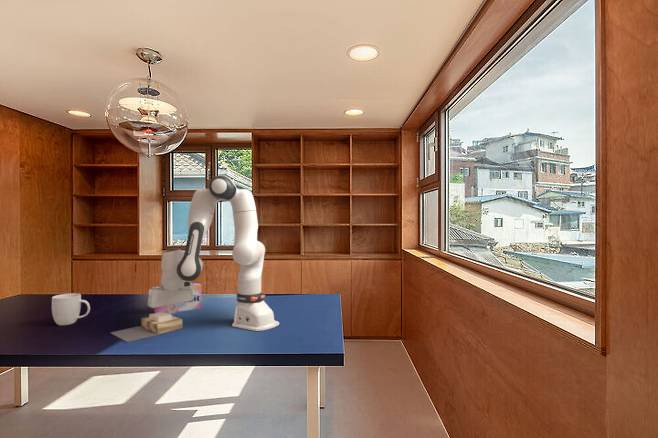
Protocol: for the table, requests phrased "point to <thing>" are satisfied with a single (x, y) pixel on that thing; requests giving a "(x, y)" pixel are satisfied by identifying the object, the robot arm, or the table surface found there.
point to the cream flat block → (160, 316)
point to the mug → (67, 308)
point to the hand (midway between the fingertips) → (171, 313)
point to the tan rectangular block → (161, 325)
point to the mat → (133, 334)
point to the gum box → (186, 305)
